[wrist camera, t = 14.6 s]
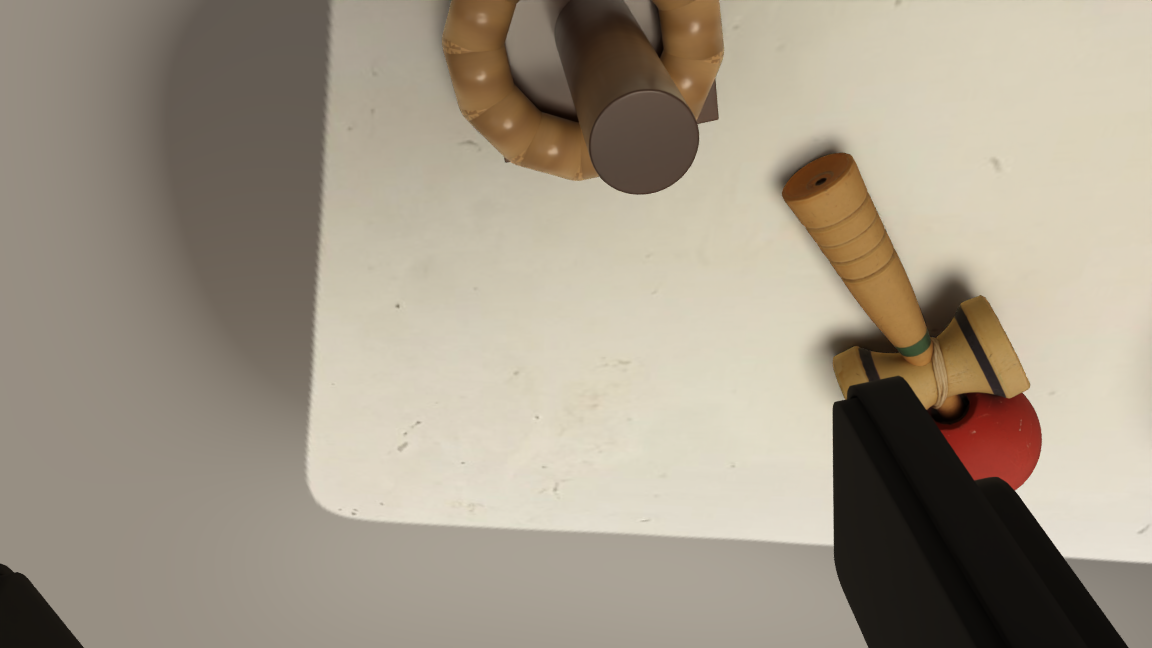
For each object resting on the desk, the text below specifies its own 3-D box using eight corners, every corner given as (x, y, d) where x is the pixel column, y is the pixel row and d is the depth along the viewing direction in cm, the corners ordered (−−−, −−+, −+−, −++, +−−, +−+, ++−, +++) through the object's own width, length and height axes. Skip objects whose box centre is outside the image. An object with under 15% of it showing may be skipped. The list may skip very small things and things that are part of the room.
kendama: (700, 217, 38) (890, 495, 45) (754, 259, 32) (962, 572, 39) (852, 104, 37) (1020, 403, 44) (934, 126, 31) (1113, 467, 38)
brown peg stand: (452, -74, 30) (448, 15, 20) (691, -122, 30) (797, -56, 20) (504, 150, 34) (520, 307, 25) (711, 108, 34) (805, 250, 25)
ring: (412, -73, 28) (409, -61, 27) (697, -139, 28) (712, -131, 26) (484, 188, 33) (485, 211, 32) (726, 133, 33) (740, 154, 32)
